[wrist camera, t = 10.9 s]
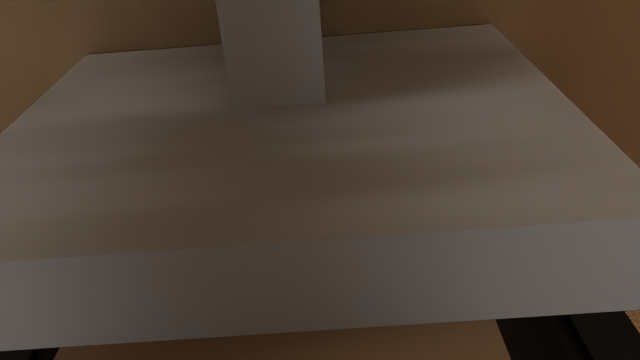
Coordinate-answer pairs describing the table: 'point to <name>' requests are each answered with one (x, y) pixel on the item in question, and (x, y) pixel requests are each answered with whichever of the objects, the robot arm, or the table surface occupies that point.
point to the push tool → (308, 198)
